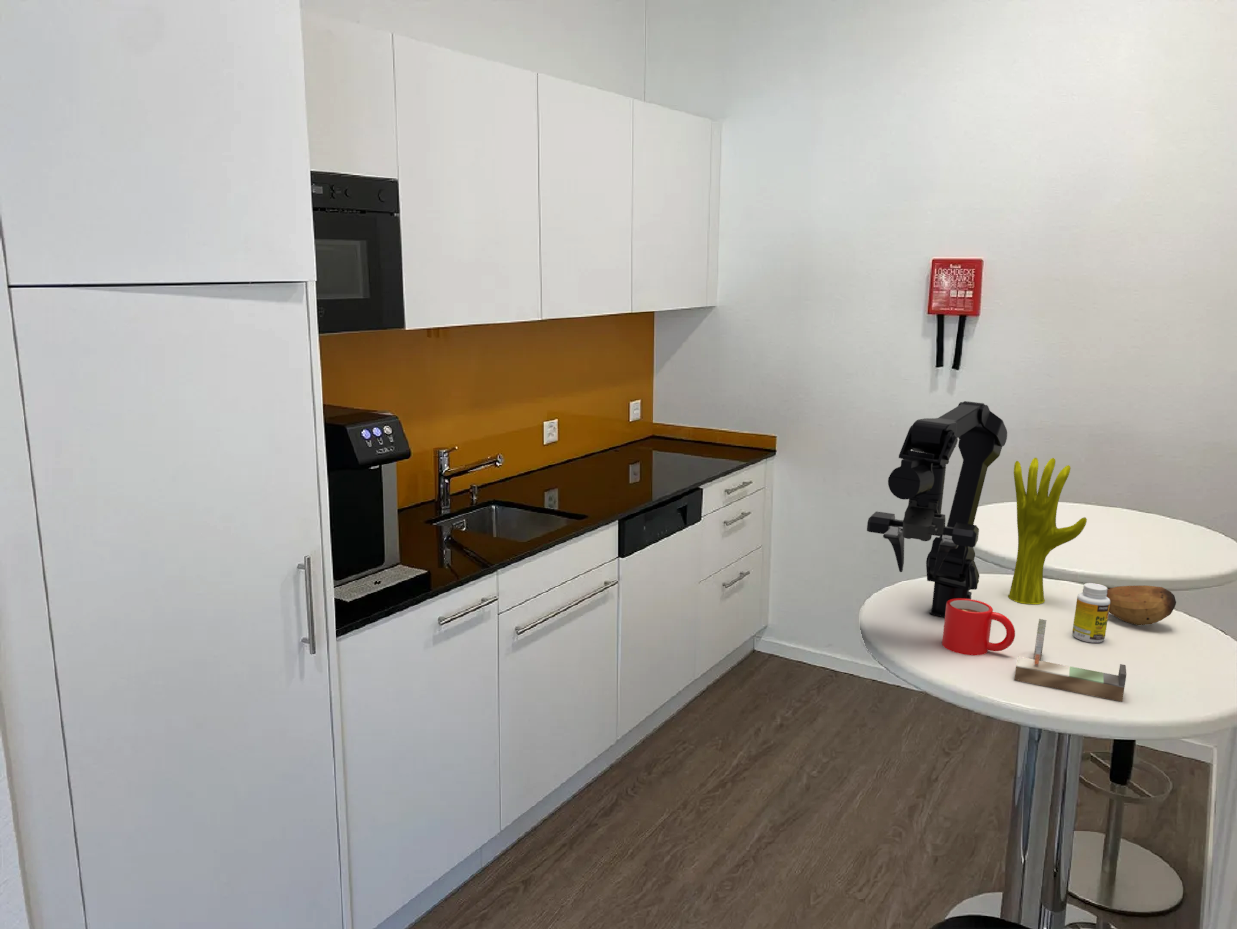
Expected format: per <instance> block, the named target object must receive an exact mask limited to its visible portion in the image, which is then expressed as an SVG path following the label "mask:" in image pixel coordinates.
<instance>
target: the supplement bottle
mask: <svg viewBox="0 0 1237 929" xmlns="http://www.w3.org/2000/svg"><path fill="white" fill-rule="evenodd" d="M1107 589H1108V587H1107V586H1105V585H1103V584H1100V583H1099V584H1098V583H1094V582H1093V583H1092V582H1086V583H1084V584H1083V589H1082V592H1080V593H1078V594H1077V596H1076V603H1075V611H1074V617H1073V624H1072V631H1071V632H1072V636H1073V637H1074V638H1076V639H1077V640H1079V641H1083V642H1086V643H1092V644H1095V643H1098V644H1099V643H1102V642H1103V641H1105V640H1106V639H1105V637H1106V632H1107V627H1108V620H1109V614H1110V613H1109V608H1110V599H1109V598H1108V597H1106V596H1107Z"/></svg>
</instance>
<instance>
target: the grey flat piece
mask: <svg viewBox="0 0 1237 929" xmlns="http://www.w3.org/2000/svg"><path fill="white" fill-rule="evenodd" d="M1046 627H1047V620H1046V619H1041V618H1039V619H1038V624H1037V630H1036V637H1035V646H1034V653H1033V659H1034V660H1035V664H1039V660H1040V661H1042V656H1043V649H1044V641H1045V633H1046Z"/></svg>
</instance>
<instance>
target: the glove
mask: <svg viewBox="0 0 1237 929" xmlns="http://www.w3.org/2000/svg"><path fill="white" fill-rule="evenodd" d="M1055 466H1056V458H1054V457H1052V458H1050V459H1049V460H1048V461H1047V463H1046V465H1045V466H1044V468H1043V470H1042V474H1041V476H1040V477H1041V478H1040V481H1039V486H1038V472H1039V471H1038V470H1039V459H1038V457H1033V459H1032V460H1031V461H1030V464H1029V468H1028V471H1027V472H1028V474H1027V484H1026V485H1027V486H1026V488H1025V484H1024V479H1023V470H1022V466H1021V463H1020V461H1018V460H1016V461H1015V462H1014V465H1013V479H1014V486H1015V487H1014V489H1015V499H1016V522H1017V523H1016V524H1017V525H1016V526H1017V543H1018V544H1017V554H1016V561H1015V565H1014V566H1015V567H1014V571H1013V572H1014V573H1013V576H1012V581H1011V585H1010V590H1009V593H1008V595H1007V598H1009V599H1010V600H1011V601H1014V602H1015V603H1017V604H1023V605H1037V606H1038V605H1042V604H1043V603H1045V601H1046V600H1045V596H1044V576H1043V575H1044V566H1045V562H1046V558H1047V556H1048V555H1049V554H1050V552H1052V550H1055V548H1057V547H1059V546H1060V547H1061V545H1063V544H1066V543H1069V542H1071V541H1073V540H1075V539H1076V538H1078V536H1080V535H1081V533H1082V532H1083V530H1084V529H1085V527H1086V525H1087V521H1088V519H1087V517H1085V516H1084V517H1081V518H1080V519H1079V520H1078V521H1076V522H1075V523H1073V524H1072V525H1070V526H1065V527H1059V528H1058V527H1057V511H1058V505H1059V501H1060V498H1061V494H1062V491H1063V489H1064V487H1065V484H1066V482H1067V480H1068V478H1069V475H1070V473H1071V469H1072V468H1071V465H1070V464H1069V465H1065V466H1064V467H1063V468H1062V469H1061V470H1060V471H1059V472H1058V474H1057V476H1056V478H1055V479H1054V482H1053V483H1052V486H1051V489H1050V491H1049V488H1050V483H1051V479H1052V475H1053V472H1054V469H1055Z"/></svg>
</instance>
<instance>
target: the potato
mask: <svg viewBox="0 0 1237 929" xmlns="http://www.w3.org/2000/svg"><path fill="white" fill-rule="evenodd" d="M1106 597H1108V598H1109V599H1110V608H1109V614H1110V615H1112V616H1113V617H1115V618H1117V619H1119V620H1120V621H1123V622H1124V623H1128V624H1131V625H1136V626H1138V627H1139V626H1149V625H1153V624H1156V623H1158V622H1161V621H1163V620H1165V619H1166V618H1168V617H1169V616H1170V615H1171V614H1172V613H1173V611H1174V609H1175V607H1176V604H1177V600H1176V597H1175V594H1174V593H1172V592H1171V591H1170V590H1168V589H1167V588H1165V587H1163V586H1155V585H1153V586H1152V585H1122V586H1115V587H1110V588H1107V596H1106Z"/></svg>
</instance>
